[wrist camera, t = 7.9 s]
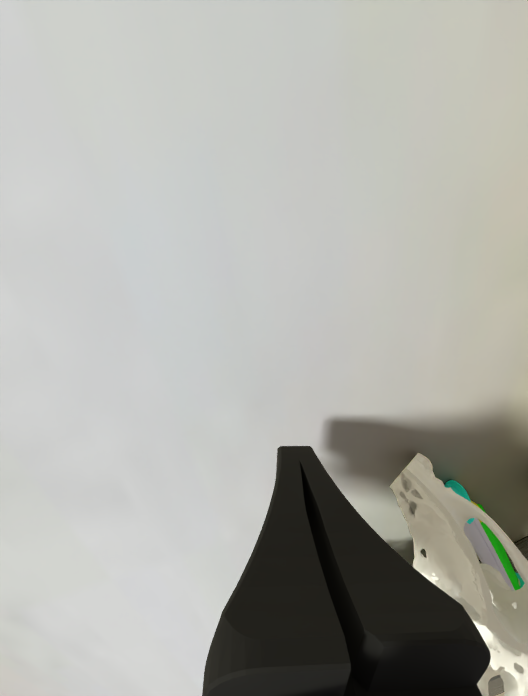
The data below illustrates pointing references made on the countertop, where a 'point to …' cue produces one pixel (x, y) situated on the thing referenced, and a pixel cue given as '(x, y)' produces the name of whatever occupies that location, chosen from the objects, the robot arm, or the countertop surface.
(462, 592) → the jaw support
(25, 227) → the countertop surface
